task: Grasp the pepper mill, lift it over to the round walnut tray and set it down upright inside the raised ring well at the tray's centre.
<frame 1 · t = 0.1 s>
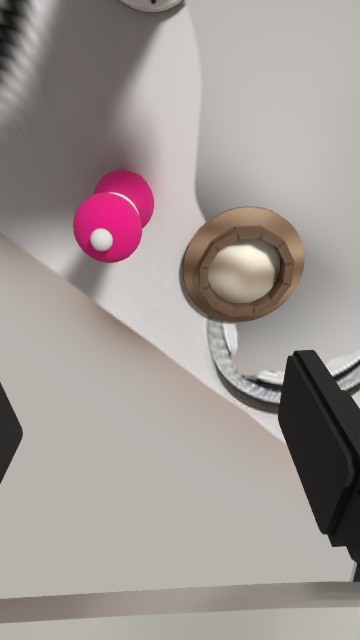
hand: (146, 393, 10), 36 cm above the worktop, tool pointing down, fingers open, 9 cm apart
round tray: (242, 268, 47), on the worktop
pepper mill: (128, 196, 41), on the worktop
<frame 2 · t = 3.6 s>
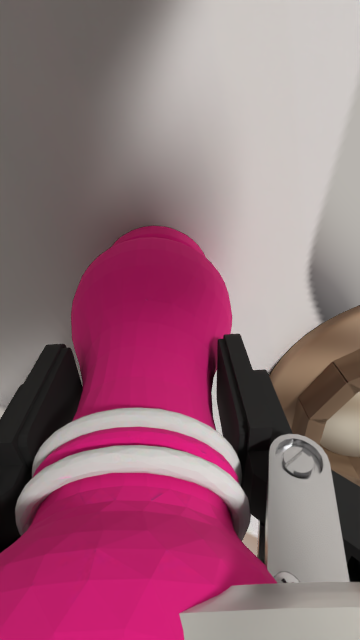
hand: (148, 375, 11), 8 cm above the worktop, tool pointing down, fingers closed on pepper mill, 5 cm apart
pepper mill: (156, 277, 18), on the worktop, touching gripper
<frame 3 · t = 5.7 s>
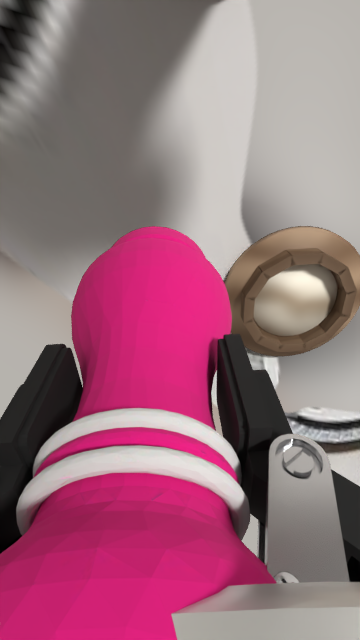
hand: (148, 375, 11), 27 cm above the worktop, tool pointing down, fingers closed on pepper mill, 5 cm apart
round tray: (290, 295, 40), on the worktop
pepper mill: (156, 277, 18), point 19 cm above the worktop, touching gripper
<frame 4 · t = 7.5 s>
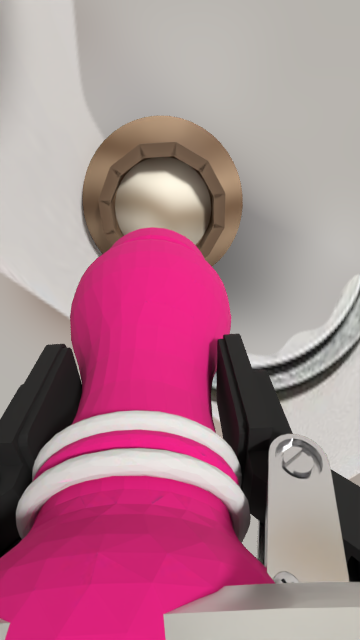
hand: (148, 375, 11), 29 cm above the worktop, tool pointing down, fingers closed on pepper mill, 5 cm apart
round tray: (163, 208, 36), on the worktop
pepper mill: (155, 278, 18), point 21 cm above the worktop, touching gripper
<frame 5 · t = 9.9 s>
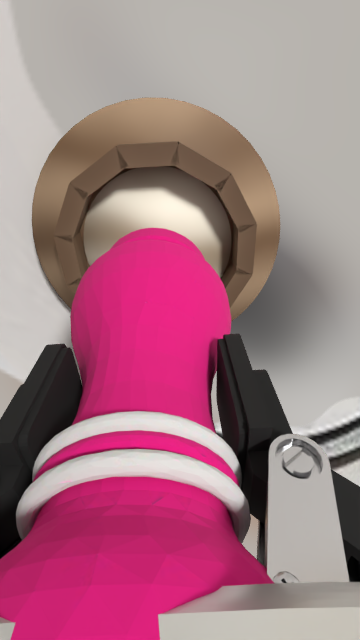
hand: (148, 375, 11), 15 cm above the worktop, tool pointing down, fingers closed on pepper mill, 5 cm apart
round tray: (158, 241, 24), on the worktop
pepper mill: (155, 278, 18), point 7 cm above the worktop, touching gripper
when the fingers open (11 cm above the worktop, at t = 11.7 s): pepper mill drops 1 cm, resting on round tray.
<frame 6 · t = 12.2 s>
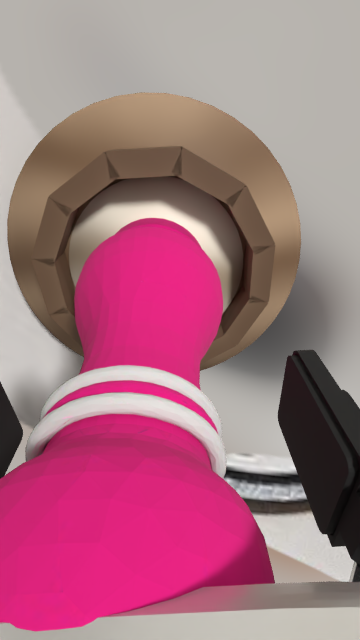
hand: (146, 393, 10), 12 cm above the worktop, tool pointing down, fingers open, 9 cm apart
round tray: (157, 261, 20), on the worktop
pepper mill: (155, 267, 19), point 1 cm above the worktop, touching round tray
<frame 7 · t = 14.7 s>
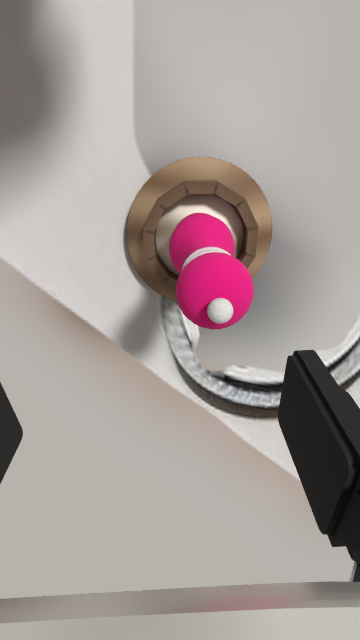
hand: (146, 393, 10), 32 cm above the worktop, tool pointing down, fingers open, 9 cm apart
round tray: (198, 236, 39), on the worktop
pepper mill: (198, 238, 38), point 1 cm above the worktop, touching round tray
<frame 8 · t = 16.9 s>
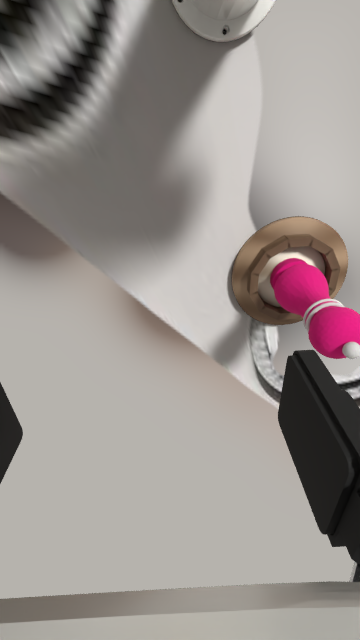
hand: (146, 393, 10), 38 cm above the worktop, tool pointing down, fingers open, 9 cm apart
round tray: (287, 273, 50), on the worktop
pepper mill: (289, 275, 48), point 1 cm above the worktop, touching round tray
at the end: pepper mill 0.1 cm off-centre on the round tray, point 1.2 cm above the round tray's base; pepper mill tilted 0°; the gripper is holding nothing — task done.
